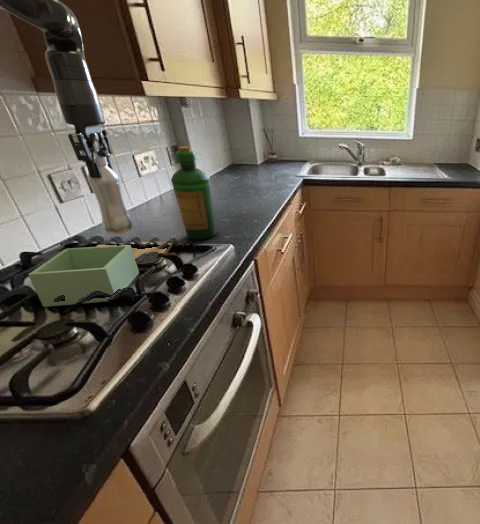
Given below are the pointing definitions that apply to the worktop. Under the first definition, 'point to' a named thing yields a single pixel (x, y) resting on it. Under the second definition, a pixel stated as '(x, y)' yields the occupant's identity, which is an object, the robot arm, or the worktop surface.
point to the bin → (84, 274)
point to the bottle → (194, 196)
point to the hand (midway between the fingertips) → (102, 175)
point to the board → (147, 249)
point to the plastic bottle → (110, 199)
